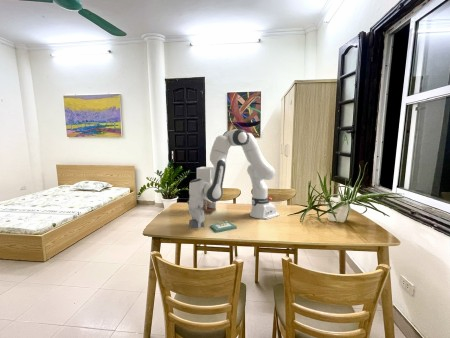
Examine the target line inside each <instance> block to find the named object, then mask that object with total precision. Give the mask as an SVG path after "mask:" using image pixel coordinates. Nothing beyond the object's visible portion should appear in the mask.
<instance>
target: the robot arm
mask: <svg viewBox="0 0 450 338" xmlns="http://www.w3.org/2000/svg"><path fill="white" fill-rule="evenodd" d="M236 146H237V147H241V148H242V151H243V153H244V156H245V158H246V160H247V162H248V163H250V164H249V165H248V166H247V169H246V172H247V174H248V176H249V179H250V181H251V186H252V196H251V210H250V213H249V216H250V217H252V218H254V219H262V220H269V219H272V218H276V217H279V216H280V213H279V212H278V211H277V208H276V205H274V204H273V203H271V202H270V201H273V198H272V197H268V196H269V195H268V191H269V188H268V185H267V184H266V182H265V181H270V180H273V179H274V177H275V175H276V170H275V168H274V167H273V166H272V165H271V164H270V163H269V162H268V161H267V160H266V158H265V157H264V155H263V153H262V151H261V149H260V147H259V144H258V141H257V140H256V138H255V136H254V135H253V134H252V133H251V132H246V131H245V130H244V129H241V128H240V129H237V128H235V129H230V130H227V131H225V132H224V133H223V134H222V135H217V136H216V137H215V139H214V142H213V144H212V146H211V149H210V155H209V161H210V163H211V164H212V166H213V167H214V169H215V173H214V178H213V183H212V184H211V183H208V182H205V181H203V180H202V179H197V178H194V179H192V180H190V182H189V185H188V186H189V188H188V194H189V199H188V200H187V205H188V207H187V208H188V213H189V214H188V215H190V216H191V219H196V220H197V221H198V224H197V226H198V228H197V229H200V227H201V223H202V222H204V223H205V220H206V219H205V214H204V210H203V209H202V207H203V198H204V197H206V198H208V199H209V200H210V201H212V202H216V203H217V202H218V201H220V200H221V199H222V197H223V195H224V194H223V193H224V192H223V185H224V179H225V173H226V165H227V164H226V163H227V158H228V154H229V150H230V147H236ZM201 228H202V227H201Z"/></svg>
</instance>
